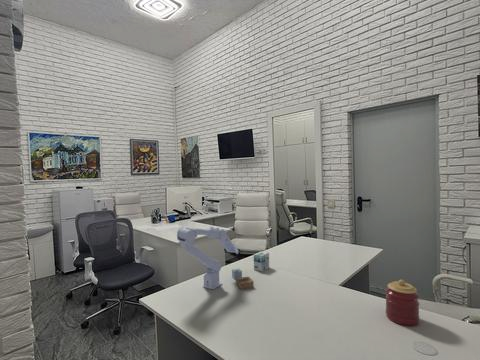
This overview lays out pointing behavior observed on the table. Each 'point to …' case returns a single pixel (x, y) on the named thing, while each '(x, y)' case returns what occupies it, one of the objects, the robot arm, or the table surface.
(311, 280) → the table surface
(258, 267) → the light bulb box
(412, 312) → the canister
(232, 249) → the robot arm
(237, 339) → the table surface
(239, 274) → the slate cube
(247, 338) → the table surface
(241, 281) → the walnut block
